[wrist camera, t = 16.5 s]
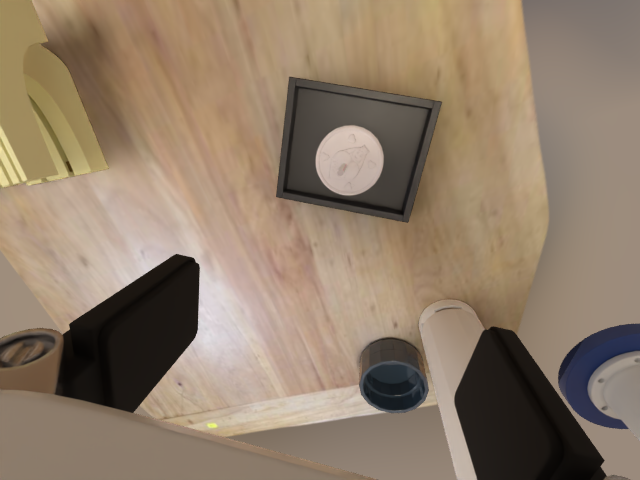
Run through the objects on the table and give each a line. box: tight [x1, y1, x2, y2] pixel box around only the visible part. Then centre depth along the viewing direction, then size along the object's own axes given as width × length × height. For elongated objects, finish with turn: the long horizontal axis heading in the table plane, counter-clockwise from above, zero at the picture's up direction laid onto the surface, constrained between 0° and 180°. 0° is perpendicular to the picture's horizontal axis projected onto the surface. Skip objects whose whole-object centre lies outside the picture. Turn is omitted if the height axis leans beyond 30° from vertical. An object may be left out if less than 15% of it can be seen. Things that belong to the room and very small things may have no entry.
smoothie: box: [316, 125, 384, 195], centre depth 31 cm, size 6×6×14 cm
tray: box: [276, 77, 442, 223], centre depth 37 cm, size 17×14×2 cm
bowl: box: [359, 339, 429, 413], centre depth 46 cm, size 9×9×5 cm
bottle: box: [418, 299, 485, 480], centre depth 31 cm, size 8×8×28 cm
